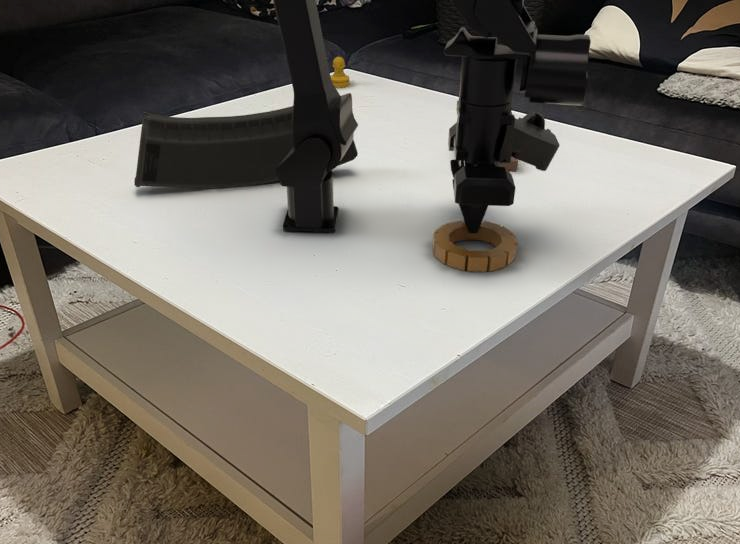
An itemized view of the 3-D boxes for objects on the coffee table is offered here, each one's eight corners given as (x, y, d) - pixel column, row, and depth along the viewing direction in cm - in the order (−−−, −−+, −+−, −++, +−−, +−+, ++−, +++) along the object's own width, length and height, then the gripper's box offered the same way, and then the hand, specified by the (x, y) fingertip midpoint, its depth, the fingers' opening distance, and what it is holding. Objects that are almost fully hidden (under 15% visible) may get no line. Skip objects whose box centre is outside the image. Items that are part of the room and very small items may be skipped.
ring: (519, 273, 82) (521, 258, 81) (434, 270, 83) (435, 256, 82) (510, 234, 90) (511, 220, 89) (432, 232, 90) (432, 218, 89)
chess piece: (328, 87, 139) (327, 59, 136) (329, 81, 142) (329, 54, 139) (348, 87, 138) (348, 59, 136) (350, 81, 142) (349, 54, 139)
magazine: (104, 131, 92) (325, 46, 93) (104, 123, 95) (320, 39, 96) (165, 243, 103) (362, 166, 104) (164, 233, 106) (357, 157, 106)
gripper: (575, 129, 72) (550, 268, 81) (546, 75, 87) (528, 198, 96) (461, 127, 72) (450, 266, 82) (452, 73, 87) (443, 196, 97)
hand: (472, 228), depth 89 cm, fingers closed on ring, 2 cm apart
